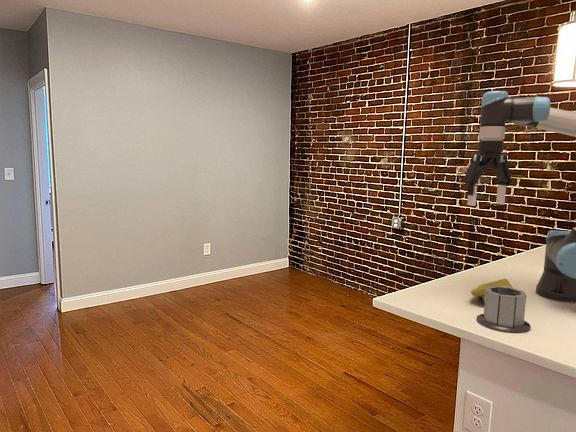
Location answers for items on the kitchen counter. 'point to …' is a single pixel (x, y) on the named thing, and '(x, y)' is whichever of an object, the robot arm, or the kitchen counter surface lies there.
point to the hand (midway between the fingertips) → (486, 205)
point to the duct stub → (518, 330)
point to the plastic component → (481, 289)
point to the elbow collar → (504, 307)
